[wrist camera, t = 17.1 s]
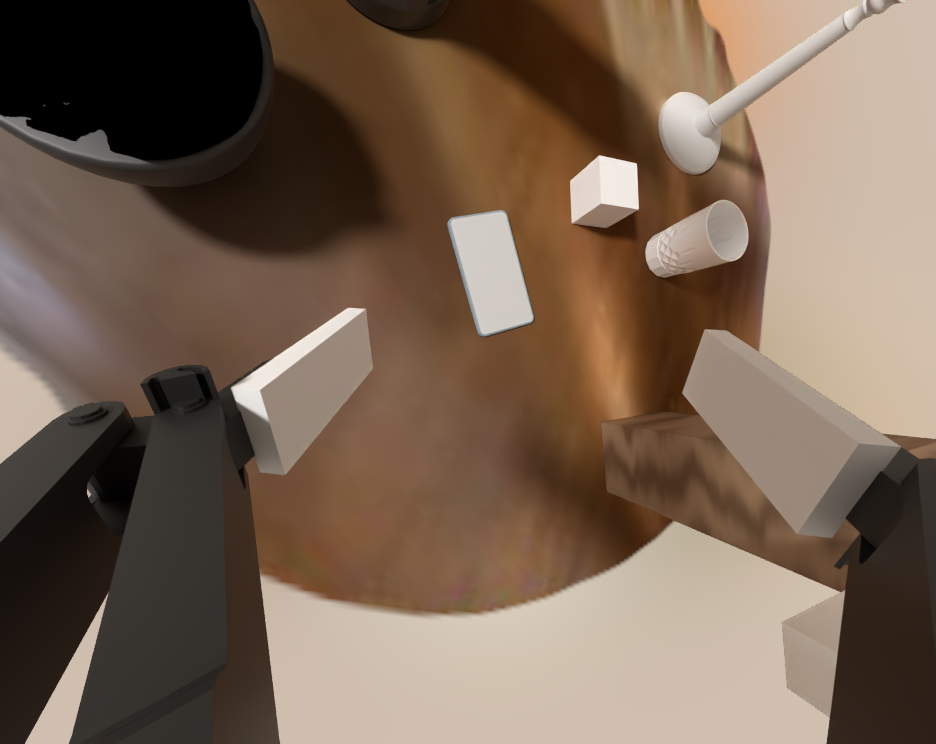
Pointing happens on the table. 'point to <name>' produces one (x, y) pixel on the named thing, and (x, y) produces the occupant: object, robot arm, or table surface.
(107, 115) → the bowl of black rocks
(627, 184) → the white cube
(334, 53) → the table surface
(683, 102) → the candlestick
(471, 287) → the smartphone
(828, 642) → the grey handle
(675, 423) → the tall stand
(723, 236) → the white cup
